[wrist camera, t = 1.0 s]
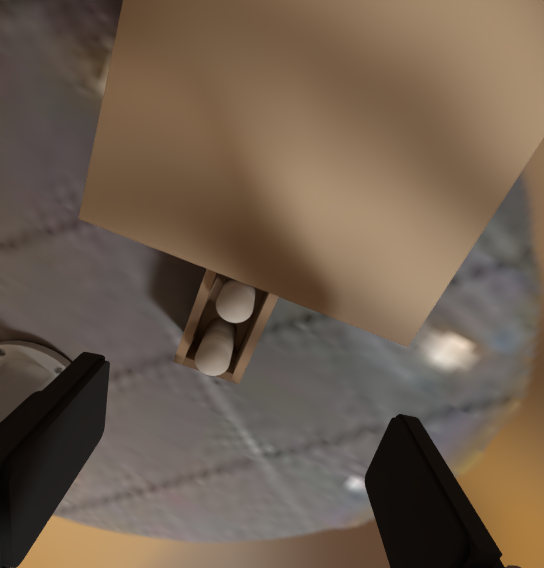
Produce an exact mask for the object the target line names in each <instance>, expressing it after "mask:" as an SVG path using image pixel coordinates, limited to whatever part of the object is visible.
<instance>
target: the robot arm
mask: <svg viewBox="0 0 544 568" xmlns="http://www.w3.org/2000/svg"><path fill="white" fill-rule="evenodd" d="M109 368H110V363H109V362H108V361H105V357H104V356H103V355H99V354H94V353H89V352H83V353H82V354H80V355H79V356H78V357H77V358H76V359H75V360H74V361H73V362H72V363H70V362H69V361H68V360H67V359H66V358H64V357H63V356H61V355H60V354H58V353H57V352H55V351H53V350H51V349H49V348H47V347H45V346H42V345H39V344H36V343H32V342H26V341H20V340H15V341H2V342H0V568H16V567H17V566H19V564H20V563H21V562H22V561H23V559H24V558H25V556H26V555H27V553H28V552H29V550H30V548H31V547H32V545H33V543H34V542H35V541H36V539H37V537H38V536H39V534H40V533H41V531H42V530H43V528H44V527H45V525H46V523H47V521H48V520H49V519H50V517H51V516H52V514H53V513H54V511H55V509H56V508H57V506H58V505H59V503H60V502H61V500H62V499H63V497H64V495H65V494H66V492H67V491H68V489H69V488H70V486H71V485H72V483H73V481H74V480H75V478H76V477H77V475H78V474H79V472H80V471H81V469H82V467H83V466H84V464H85V463H86V461H87V460H88V458H89V456H90V455H91V453H92V452H93V450H94V449H95V447H96V446H97V444H98V442H99V441H100V439H101V437H102V435H103V432H104V427H105V415H106V403H107V392H108V380H109ZM365 487H366V490H367V493H368V497H369V500H370V503H371V506H372V510H373V513H374V516H375V519H376V522H377V525H378V528H379V532H380V535H381V538H382V542H383V545H384V548H385V551H386V555H387V558H388V561H389V564H390V567H391V568H521V567H518V566H513V565H512V566H511V565H508V566H507V567H504V565H503V564H502V562H501V560H500V557H501V556H502V553H501V552H500V550H499V548H498V547H497V545H496V543H495V542H494V540H493V539H492V537H491V536H490V534H489V532H488V530H487V529H486V528H485V526H484V524H483V522H482V521H481V519H480V517H479V516H478V514H477V513H476V511H475V509H474V508H473V506H472V505H471V503H470V501H469V500H468V498H467V496H466V495H465V493H464V492H463V490H462V488H461V487H460V485H459V484H458V482H457V480H456V479H455V477H454V475H453V474H452V472H451V471H450V469H449V467H448V466H447V464H446V462H445V461H444V459H443V458H442V456H441V454H440V453H439V451H438V449H437V448H436V446H435V445H434V443H433V441H432V440H431V438H430V437H429V435H428V433H427V432H426V430H425V428H424V427H423V425H422V424H421V422H420V420H419V419H418V418H416V417H412V416H407V415H402V414H398V415H397V416H396V418H392V419H391V421H390V423H389V425H388V427H387V429H386V431H385V434H384V436H383V438H382V440H381V442H380V444H379V447H378V449H377V451H376V453H375V455H374V457H373V460H372V462H371V464H370V466H369V468H368V470H367V473H366V475H365Z"/></svg>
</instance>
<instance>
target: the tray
mask: <svg viewBox="0 0 544 568" xmlns="http://www.w3.org/2000/svg"><path fill="white" fill-rule="evenodd" d="M277 299H278V296H276V295H273V294H271V293H268V292H265V291H263V290H260V289H258V288H255V287H253V286H250V285H247V284H245V283H242V282H240V281H237V280H235V279H232V278H230V277H227V276H224V275H222V274H219V273H217V272H214V271H212V270H209V269H207V270H206V272H205V275H204V278H203V281H202V283H201V286H200V289H199V292H198V294H197V297H196V300H195V303H194V305H193V308H192V311H191V314H190V317H189V319H188V322H187V325H186V328H185V330H184V333H183V336H182V339H181V341H180V344H179V347H178V350H177V353H176V355H175V358H174V361H173V362H176V363H179V364H182V365H185V366H187V367H190V368H193V369H196V370H199V371H201V372H202V373H204V374H206V375H210V376H216V377H219V378H222V379H225V380H228V381H231V382H234V383H237V384H239V382H240V380H241V378H242V376H243V374H244V371H245V369H246V367H247V365H248V363H249V360H250V358H251V356H252V354H253V352H254V350H255V347H256V345H257V343H258V341H259V339H260V336H261V334H262V332H263V330H264V328H265V326H266V323H267V321H268V319H269V317H270V315H271V312H272V310H273V308H274V306H275V304H276V301H277Z"/></svg>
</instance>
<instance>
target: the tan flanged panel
mask: <svg viewBox="0 0 544 568" xmlns="http://www.w3.org/2000/svg"><path fill="white" fill-rule="evenodd" d="M543 138H544V0H123V3H122V8H121V13H120V18H119V23H118V28H117V33H116V38H115V42H114V47H113V52H112V57H111V62H110V67H109V72H108V77H107V82H106V87H105V92H104V96H103V101H102V106H101V111H100V116H99V121H98V126H97V131H96V136H95V141H94V146H93V150H92V155H91V160H90V165H89V170H88V175H87V180H86V185H85V190H84V195H83V200H82V204H81V209H80V214H79V219H81V220H83V221H86V222H88V223H91V224H94V225H96V226H99V227H101V228H104V229H106V230H109V231H112V232H114V233H117V234H119V235H122V236H124V237H127V238H130V239H132V240H135V241H137V242H140V243H142V244H145V245H147V246H150V247H153V248H155V249H158V250H160V251H163V252H165V253H168V254H171V255H173V256H176V257H178V258H181V259H183V260H186V261H189V262H191V263H194V264H196V265H199V266H201V267H204V268H206V269H209V270H212V271H214V272H217V273H219V274H222V275H224V276H227V277H230V278H232V279H235V280H237V281H240V282H242V283H245V284H247V285H250V286H253V287H255V288H258V289H260V290H263V291H265V292H268V293H271V294H273V295H276V296H278V297H281V298H283V299H286V300H289V301H291V302H294V303H296V304H299V305H301V306H304V307H306V308H309V309H312V310H314V311H317V312H319V313H322V314H324V315H327V316H330V317H332V318H335V319H337V320H340V321H342V322H345V323H348V324H350V325H353V326H355V327H358V328H360V329H363V330H365V331H368V332H371V333H373V334H376V335H378V336H381V337H383V338H386V339H389V340H391V341H394V342H396V343H399V344H401V345H404V346H407V347H408V346H409V344H410V343H411V341H412V340H413V338H414V337H415V335H416V334H417V332H418V330H419V329H420V327H421V326H422V324H423V323H424V321H425V320H426V318H427V317H428V315H429V313H430V312H431V310H432V309H433V307H434V306H435V304H436V303H437V301H438V300H439V298H440V296H441V295H442V293H443V292H444V290H445V289H446V287H447V286H448V284H449V283H450V281H451V280H452V278H453V276H454V275H455V273H456V272H457V270H458V269H459V267H460V266H461V264H462V263H463V261H464V259H465V258H466V256H467V255H468V253H469V252H470V250H471V249H472V247H473V246H474V244H475V242H476V241H477V239H478V238H479V236H480V235H481V233H482V232H483V230H484V229H485V227H486V226H487V224H488V222H489V221H490V219H491V218H492V216H493V215H494V213H495V212H496V210H497V209H498V207H499V205H500V204H501V202H502V201H503V199H504V198H505V196H506V195H507V193H508V192H509V190H510V188H511V187H512V185H513V184H514V182H515V181H516V179H517V178H518V176H519V175H520V173H521V171H522V170H523V168H524V167H525V165H526V164H527V162H528V160H529V159H530V158H531V156H532V155H533V153H534V151H535V150H536V148H537V147H538V145H539V144H540V142H541V141H542V139H543Z"/></svg>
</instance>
